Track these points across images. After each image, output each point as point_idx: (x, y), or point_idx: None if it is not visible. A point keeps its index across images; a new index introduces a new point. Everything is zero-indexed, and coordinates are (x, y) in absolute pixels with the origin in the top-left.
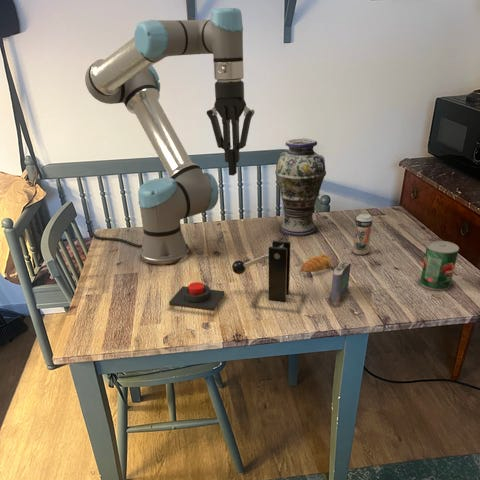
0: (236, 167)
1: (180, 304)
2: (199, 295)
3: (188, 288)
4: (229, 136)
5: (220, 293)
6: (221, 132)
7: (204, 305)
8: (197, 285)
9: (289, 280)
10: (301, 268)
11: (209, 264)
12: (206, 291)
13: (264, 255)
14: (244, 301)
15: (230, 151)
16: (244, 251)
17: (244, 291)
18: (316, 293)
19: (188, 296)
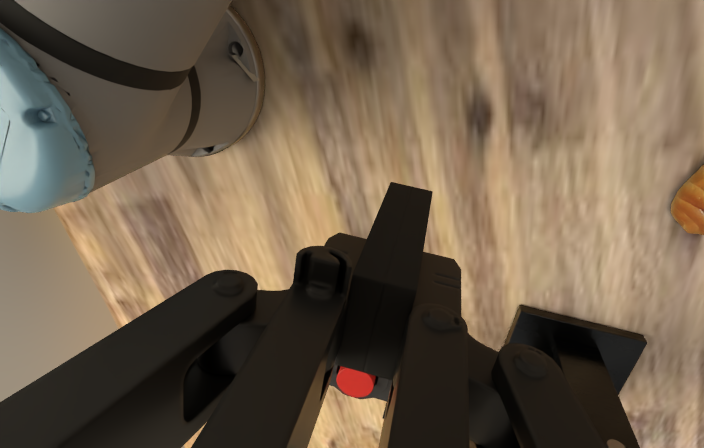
0: (429, 208)
1: (331, 384)
2: (369, 395)
3: (336, 365)
4: (303, 421)
5: None
6: (133, 392)
7: (384, 397)
8: (357, 382)
9: (609, 376)
10: (676, 211)
11: (350, 140)
12: (382, 381)
13: None
14: None
15: (365, 369)
16: (464, 17)
17: (472, 305)
18: (683, 326)
19: (345, 394)
